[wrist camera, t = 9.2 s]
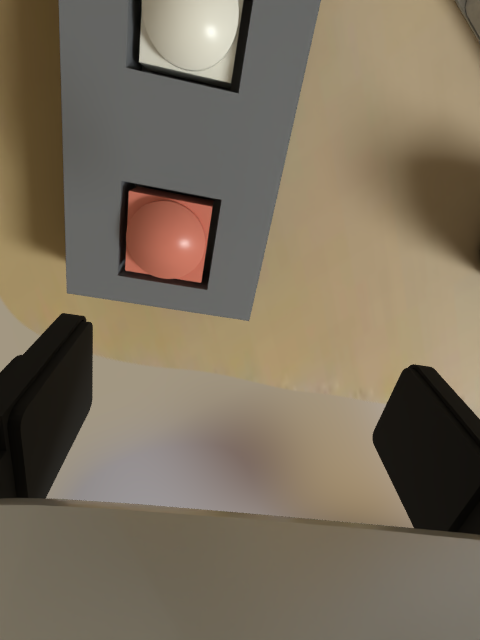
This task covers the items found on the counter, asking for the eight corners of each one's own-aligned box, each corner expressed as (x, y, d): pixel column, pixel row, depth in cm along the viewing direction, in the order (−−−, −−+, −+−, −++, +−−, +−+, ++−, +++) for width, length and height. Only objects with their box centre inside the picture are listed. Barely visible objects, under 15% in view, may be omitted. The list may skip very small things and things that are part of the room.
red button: (138, 186, 24) (126, 192, 21) (213, 200, 25) (212, 208, 22) (133, 259, 26) (122, 273, 24) (203, 270, 27) (200, 285, 24)
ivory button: (154, -41, 20) (143, -71, 17) (246, -17, 20) (249, -42, 18) (147, 70, 22) (136, 59, 19) (230, 89, 23) (231, 81, 20)
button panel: (92, -104, 20) (53, -175, 15) (316, -41, 21) (340, -90, 17) (90, 270, 29) (66, 293, 25) (245, 294, 31) (249, 320, 26)
